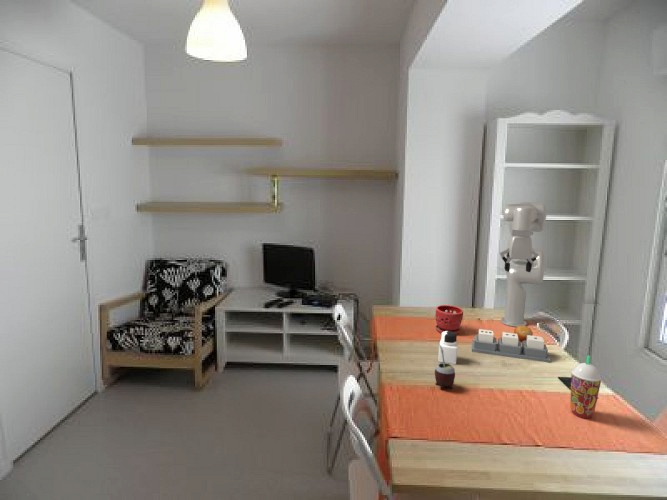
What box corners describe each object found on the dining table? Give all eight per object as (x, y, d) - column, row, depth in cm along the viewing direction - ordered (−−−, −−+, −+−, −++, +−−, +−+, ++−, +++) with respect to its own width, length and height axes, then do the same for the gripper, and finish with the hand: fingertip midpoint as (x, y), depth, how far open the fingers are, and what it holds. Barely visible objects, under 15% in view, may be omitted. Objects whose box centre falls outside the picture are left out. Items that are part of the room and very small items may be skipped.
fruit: (526, 333, 202) (531, 323, 197) (531, 347, 196) (536, 336, 191) (509, 332, 203) (513, 322, 198) (513, 346, 197) (517, 335, 192)
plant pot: (432, 334, 203) (434, 310, 201) (436, 325, 215) (438, 303, 213) (460, 338, 198) (462, 314, 196) (462, 329, 210) (464, 306, 208)
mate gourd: (450, 393, 147) (453, 353, 144) (429, 387, 151) (431, 348, 148) (456, 384, 153) (459, 346, 151) (435, 379, 157) (438, 341, 155)
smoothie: (561, 407, 139) (567, 350, 136) (584, 406, 140) (591, 350, 136) (577, 421, 131) (585, 361, 127) (602, 420, 132) (610, 361, 128)
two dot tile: (501, 340, 186) (502, 331, 186) (516, 342, 184) (517, 333, 184) (502, 345, 181) (503, 336, 180) (517, 347, 179) (518, 338, 178)
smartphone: (575, 377, 160) (598, 396, 145) (575, 379, 160) (597, 399, 145) (557, 376, 160) (577, 395, 145) (557, 378, 160) (577, 398, 145)
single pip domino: (526, 343, 183) (527, 334, 182) (541, 345, 181) (542, 336, 181) (527, 348, 178) (528, 339, 177) (543, 350, 176) (544, 341, 175)
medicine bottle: (456, 357, 177) (458, 330, 175) (455, 364, 170) (457, 336, 168) (439, 355, 179) (441, 328, 177) (438, 361, 172) (439, 334, 170)
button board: (472, 342, 193) (472, 333, 193) (545, 352, 183) (546, 342, 183) (471, 351, 183) (472, 341, 182) (549, 362, 173) (551, 352, 172)
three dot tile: (478, 337, 190) (479, 328, 189) (492, 339, 188) (493, 330, 187) (478, 342, 184) (479, 333, 183) (492, 344, 182) (493, 335, 181)
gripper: (535, 233, 191) (532, 270, 194) (498, 232, 191) (495, 269, 193) (544, 235, 184) (540, 273, 186) (505, 234, 183) (502, 272, 186)
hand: (517, 271), depth 190 cm, fingers open, 9 cm apart
